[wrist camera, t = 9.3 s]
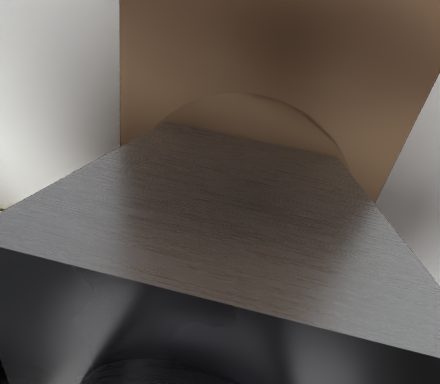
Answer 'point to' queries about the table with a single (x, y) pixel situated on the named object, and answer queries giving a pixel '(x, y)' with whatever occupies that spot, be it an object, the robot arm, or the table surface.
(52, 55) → the table surface
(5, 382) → the robot arm
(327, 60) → the brown flat block
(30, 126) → the table surface
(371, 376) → the metal cube with knob
